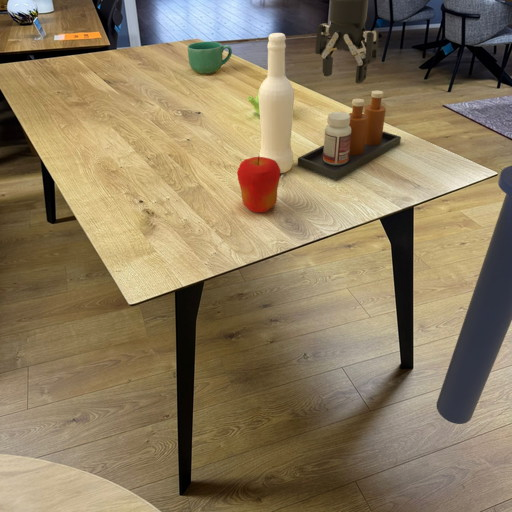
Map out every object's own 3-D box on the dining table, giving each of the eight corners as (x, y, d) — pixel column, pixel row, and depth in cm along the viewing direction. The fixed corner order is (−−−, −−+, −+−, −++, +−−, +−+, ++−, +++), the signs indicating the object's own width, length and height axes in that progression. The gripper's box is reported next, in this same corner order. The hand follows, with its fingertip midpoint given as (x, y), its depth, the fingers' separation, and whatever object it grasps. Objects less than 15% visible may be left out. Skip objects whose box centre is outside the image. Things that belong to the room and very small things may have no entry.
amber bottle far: (384, 141, 125) (392, 91, 117) (373, 147, 122) (380, 97, 115) (368, 136, 128) (374, 87, 120) (356, 141, 125) (362, 92, 118)
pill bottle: (348, 156, 118) (353, 111, 112) (347, 167, 113) (352, 120, 107) (323, 154, 119) (326, 110, 113) (321, 165, 114) (324, 119, 108)
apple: (282, 198, 103) (282, 147, 96) (277, 218, 97) (277, 165, 90) (243, 195, 105) (241, 145, 98) (235, 215, 98) (232, 163, 91)
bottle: (256, 162, 118) (253, 30, 100) (287, 158, 119) (290, 28, 101) (263, 176, 112) (261, 39, 94) (296, 173, 113) (301, 36, 95)
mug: (191, 77, 176) (189, 50, 171) (188, 68, 186) (185, 42, 181) (235, 74, 179) (234, 47, 173) (230, 65, 189) (228, 39, 183)
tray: (362, 132, 132) (363, 125, 130) (399, 144, 125) (401, 136, 124) (297, 165, 116) (297, 157, 115) (335, 180, 109) (336, 172, 108)
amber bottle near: (367, 150, 121) (374, 99, 113) (355, 157, 118) (361, 105, 110) (350, 145, 124) (355, 95, 116) (338, 151, 121) (343, 100, 113)
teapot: (255, 107, 150) (254, 79, 145) (291, 108, 148) (292, 81, 143) (247, 120, 141) (246, 91, 136) (286, 122, 139) (286, 93, 134)
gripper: (391, -4, 93) (380, 81, 103) (332, -10, 101) (327, 69, 111) (369, 1, 89) (360, 89, 98) (309, -5, 97) (307, 77, 107)
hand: (343, 78), depth 105 cm, fingers open, 8 cm apart
